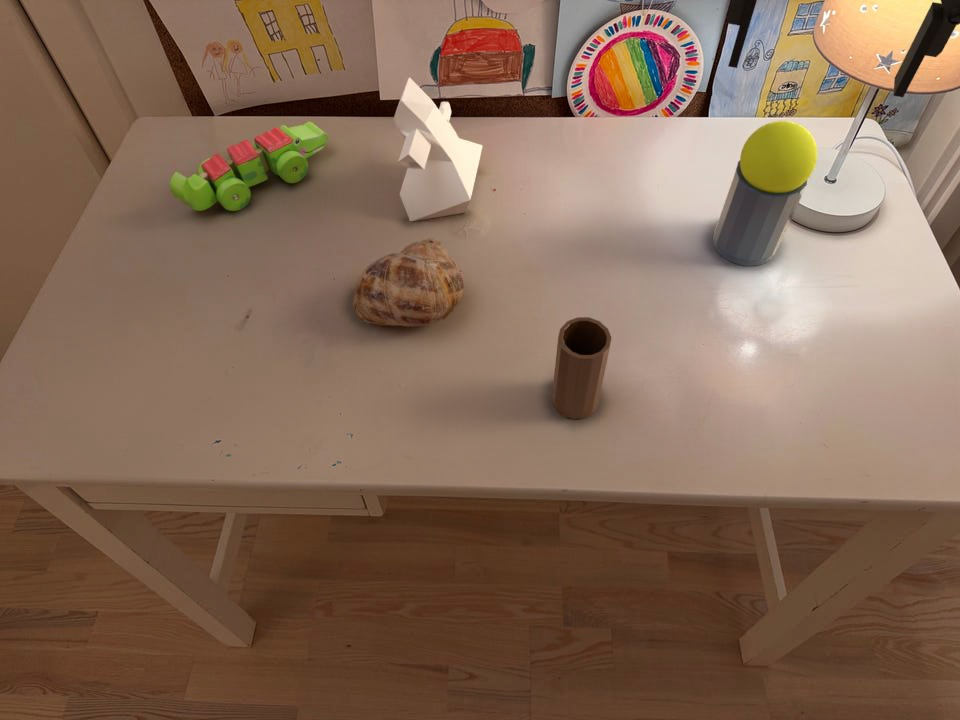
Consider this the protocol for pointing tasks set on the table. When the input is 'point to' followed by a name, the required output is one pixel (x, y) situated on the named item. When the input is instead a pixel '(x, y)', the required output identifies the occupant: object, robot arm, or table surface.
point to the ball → (778, 157)
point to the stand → (580, 366)
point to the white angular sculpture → (433, 158)
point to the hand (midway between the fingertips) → (814, 73)
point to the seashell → (409, 286)
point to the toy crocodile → (249, 167)
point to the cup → (753, 221)
